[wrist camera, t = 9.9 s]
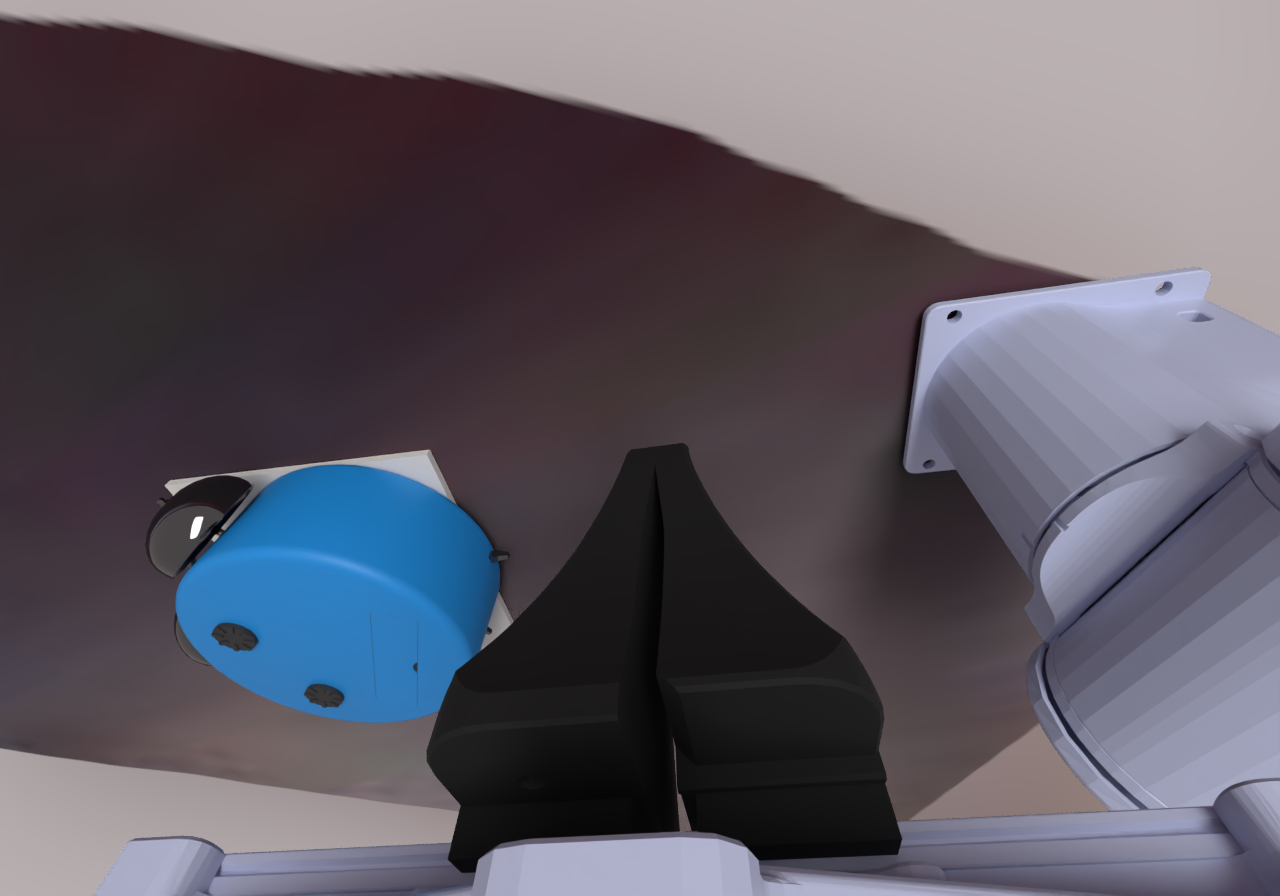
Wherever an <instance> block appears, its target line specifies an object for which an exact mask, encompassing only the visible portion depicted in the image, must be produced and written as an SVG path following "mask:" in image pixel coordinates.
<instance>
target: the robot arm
mask: <svg viewBox="0 0 1280 896" xmlns="http://www.w3.org/2000/svg"><path fill="white" fill-rule="evenodd" d="M1211 277H1212V276H1211V274H1210V272H1208V271H1207V270H1204V269H1202V268H1200V267H1192V268H1184V269H1177V270H1170V271H1163V272H1156V273H1148V274H1142V275H1134V276H1127V277H1119V278H1112V279H1105V280H1097V281H1090V282H1083V283H1076V284H1069V285H1061V286H1054V287H1047V288H1040V289H1032V290H1025V291H1018V292H1011V293H1003V294H996V295H989V296H982V297H975V298H967V299H960V300H953V301H946V302H938V303H935V304H932V305H931V306H929V307H928V308H927V309H926V311H925V312H924V314H923V318H922V325H921V332H920V340H919V347H918V354H917V362H916V369H915V377H914V384H913V391H912V399H911V406H910V413H909V421H908V428H907V436H906V443H905V450H904V458H903V465H904V467H905V469H906V470H907V472H909V473H915V474H916V473H926V472H936V471H946V470H956V471H957V472H958V474H959V475H960V477H961V478H962V480H963V481H964V483H965V484H966V485H967V487H968V488H969V490H970V491H971V493H972V494H973V496H974V497H975V499H976V500H977V502H978V503H979V505H980V506H981V508H982V509H983V511H984V512H985V514H986V515H987V517H988V518H989V520H990V521H991V523H992V524H993V526H994V527H995V529H996V530H997V532H998V533H999V535H1000V536H1001V538H1002V539H1003V541H1004V542H1005V544H1006V545H1007V547H1008V548H1009V550H1010V551H1011V553H1012V554H1013V556H1014V557H1015V559H1016V560H1017V562H1018V563H1019V565H1020V566H1021V568H1022V569H1023V571H1024V572H1025V574H1026V575H1027V577H1028V578H1029V580H1030V581H1031V583H1032V584H1033V586H1034V593H1033V596H1032V598H1031V600H1030V601H1029V602H1028V604H1027V605H1026V606H1025V608H1024V610H1025V612H1026V614H1027V615H1028V617H1029V618H1030V620H1031V622H1032V623H1033V625H1034V626H1035V628H1036V630H1037V631H1038V633H1039V634H1040V636H1041V638H1042V639H1043V641H1044V643H1043V644H1041V645H1040V646H1039V647H1038V648H1037V649H1036V650H1035V651H1034V652H1033V653H1032V655H1031V657H1030V659H1029V662H1028V664H1027V670H1026V684H1027V691H1028V695H1029V698H1030V701H1031V704H1032V707H1033V710H1034V712H1035V714H1036V716H1037V718H1038V721H1039V723H1040V725H1041V727H1042V729H1043V730H1044V732H1045V734H1046V735H1047V737H1048V738H1049V740H1050V742H1051V743H1052V745H1053V747H1054V748H1055V750H1056V751H1057V752H1058V754H1059V755H1060V756H1061V758H1062V759H1063V760H1064V762H1065V763H1066V765H1067V766H1068V767H1069V768H1070V770H1071V771H1072V772H1073V773H1074V774H1075V775H1076V777H1077V778H1078V779H1079V780H1080V781H1081V782H1082V784H1083V785H1084V786H1085V787H1086V788H1087V789H1088V790H1089V791H1090V792H1091V793H1092V794H1093V795H1094V796H1095V797H1096V798H1097V799H1098V800H1099V801H1100V802H1101V803H1102V804H1103V805H1105V806H1106V807H1107V808H1108V809H1109V810H1110V811H1096V812H1075V813H1055V814H1035V815H1013V816H993V817H974V818H973V817H972V818H952V819H931V820H911V821H897V820H896V817H895V814H894V811H893V807H892V804H891V801H890V798H889V795H888V792H887V788H886V785H885V783H886V780H887V777H886V772H885V769H884V766H883V762H882V759H881V756H880V753H879V745H880V739H881V733H882V728H883V722H884V713H883V706H882V703H881V701H880V698H879V695H878V693H877V691H876V689H875V687H874V685H873V683H872V681H871V679H870V677H869V675H868V673H867V671H866V670H865V668H864V666H863V665H862V663H861V661H860V660H859V658H858V656H857V655H856V653H855V652H854V650H853V649H852V647H851V646H850V644H849V643H848V641H847V640H846V638H845V637H843V636H842V635H840V634H839V633H838V632H836V631H835V630H834V629H832V628H831V627H830V626H828V625H827V624H826V623H824V622H823V621H822V620H821V619H819V618H818V617H817V616H816V615H814V614H813V613H812V612H811V611H809V610H808V609H807V608H806V607H805V606H804V605H802V604H801V603H800V602H799V601H798V600H797V599H795V598H794V597H793V596H792V595H791V594H790V593H789V592H788V591H787V590H786V589H785V588H784V587H782V586H781V585H780V584H779V583H778V582H777V581H776V580H775V579H774V578H773V577H772V576H771V575H770V574H769V573H768V572H767V571H766V570H765V569H764V568H763V567H762V566H761V565H760V564H759V563H758V561H757V560H756V559H755V558H754V557H753V556H752V555H751V554H750V553H749V551H748V550H747V549H746V548H745V547H744V545H743V544H742V543H741V542H740V541H739V539H738V538H737V537H736V536H735V534H734V533H733V532H732V530H731V529H730V528H729V526H728V525H727V523H726V522H725V520H724V519H723V518H722V516H721V515H720V513H719V512H718V510H717V509H716V507H715V506H714V504H713V502H712V501H711V499H710V497H709V496H708V494H707V492H706V490H705V489H704V487H703V485H702V483H701V481H700V479H699V477H698V475H697V473H696V471H695V469H694V466H693V464H692V461H691V458H690V454H689V449H688V446H686V445H685V444H683V443H679V444H672V445H664V446H656V447H648V448H640V449H632V450H630V451H629V452H628V454H627V455H626V458H625V461H624V463H623V466H622V468H621V471H620V473H619V475H618V477H617V479H616V482H615V484H614V486H613V488H612V490H611V492H610V494H609V496H608V497H607V499H606V501H605V503H604V505H603V507H602V509H601V511H600V512H599V514H598V516H597V518H596V519H595V521H594V522H593V524H592V526H591V527H590V529H589V531H588V532H587V534H586V535H585V537H584V539H583V540H582V542H581V543H580V545H579V546H578V548H577V549H576V550H575V552H574V553H573V555H572V556H571V557H570V559H569V560H568V561H567V563H566V564H565V565H564V567H563V568H562V569H561V570H560V572H559V573H558V574H557V575H556V577H555V578H554V579H553V580H552V581H551V582H550V584H549V585H548V586H547V587H546V588H545V590H544V591H543V592H542V593H541V594H540V595H539V596H538V597H537V599H536V600H535V601H534V602H533V603H532V604H531V605H530V606H529V607H528V608H527V609H526V610H525V611H524V612H523V613H522V614H521V615H520V616H519V617H518V618H517V619H516V620H515V621H514V622H513V623H512V624H511V625H510V626H509V627H508V628H507V629H506V630H505V631H503V632H502V633H501V634H500V635H499V636H498V637H497V638H496V639H494V640H493V641H492V642H491V643H490V644H488V645H487V646H486V647H485V648H483V649H482V650H481V651H480V652H479V653H477V654H476V655H475V656H474V657H472V658H471V659H470V660H469V661H468V662H466V663H465V664H464V665H463V666H461V667H460V668H459V669H457V670H456V671H455V673H454V676H453V678H452V681H451V683H450V685H449V687H448V689H447V692H446V694H445V696H444V699H443V702H442V704H441V707H440V710H439V713H438V716H437V720H436V723H435V726H434V729H433V732H432V736H431V739H430V742H429V745H428V748H427V762H428V764H429V766H430V768H431V769H432V771H433V773H434V774H435V776H436V777H437V778H438V779H439V781H440V782H441V783H442V784H443V785H444V786H445V787H446V789H447V790H448V791H449V792H450V793H451V794H452V796H453V797H454V798H455V799H456V800H457V801H458V802H459V804H460V805H461V807H460V811H459V815H458V819H457V823H456V827H455V831H454V835H453V839H452V843H438V844H417V845H398V846H376V847H355V848H335V849H314V850H296V851H295V850H293V851H274V852H252V853H232V854H224V852H223V850H222V849H221V848H219V847H218V846H217V845H215V844H213V843H212V842H210V841H207V840H205V839H202V838H198V837H193V836H171V837H152V838H136V839H133V840H131V841H129V842H128V843H127V844H126V846H125V847H124V849H123V850H122V852H121V853H120V855H119V856H118V858H117V860H116V861H115V863H114V864H113V866H112V867H111V869H110V871H109V872H108V873H107V875H106V877H105V878H104V880H103V881H102V883H101V884H100V886H99V887H98V889H97V891H96V892H95V894H94V895H93V896H1280V335H1278V334H1276V333H1274V332H1272V331H1270V330H1268V329H1265V328H1264V327H1261V326H1259V325H1257V324H1255V323H1253V322H1251V321H1249V320H1247V319H1245V318H1243V317H1241V316H1239V315H1236V314H1234V313H1232V312H1230V311H1228V310H1226V309H1224V308H1222V307H1220V306H1218V305H1216V304H1213V303H1212V302H1210V301H1207V300H1205V299H1203V297H1204V295H1205V293H1206V291H1207V289H1208V286H1209V284H1210V281H1211ZM1163 282H1164V285H1163V286H1162V288H1160V289H1159V290H1158V291H1156V288H1157V287H1158V286H1159V285H1160V284H1161V283H1163ZM954 310H957V311H958V312H957V314H956V316H954V317H953V318H951V319H947V316H948V314H949V313H950V312H952V311H954ZM927 460H931V461H930V462H928V463H925V464H924V462H925V461H927ZM673 738H674V742H675V745H676V768H677V788H678V793H679V794H681V796H682V799H683V802H684V806H685V809H686V813H687V816H688V819H689V823H690V826H691V830H692V831H684V832H680V828H679V815H678V802H677V789H676V775H675V760H674V745H673Z"/></svg>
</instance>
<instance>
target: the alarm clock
mask: <svg viewBox="0 0 1280 896" xmlns="http://www.w3.org/2000/svg"><path fill="white" fill-rule="evenodd" d="M254 486H255V484H253V483H251V482H250V481H248V480H245V479H243V478H240V477H236V476H230V475H218V476H212V477H207V478H204V479H201V480H198V481H195V482H193V483H191V484H189V485H187V486H185V487H184V488H182V489H180V490H179V491H178V492H177V493H176V494H175V495H174V496H173V497H171V498H170V499H169V500H168V499H167V500H166V499H164V498H160V499H159V500H158V501H157V502H156V504H158V505H160V506H161V507H162V508H161V509H160V510H159V512H158V513H157V514H156V515H155V517H154V518H153V519H152V521H151V523H150V526H149V529H148V531H147V535H146V543H145V546H146V554H147V556H148V559H149V561H150V563H151V564H152V565H153V567H154V568H155V569H156V570H157V571H159V572H160V573H162V574H164V575H165V576H167V577H169V578H172V579H174V578H175V577H176V576H177V575H179V574H180V573H181V572H182V571H183V570H184V569H185V568H186V567H187V565H188V569H189V570H188V572H187V573H186V574H185V576H184V577H183V579H182V581H181V582H180V584H179V587H178V590H177V594H176V613H175V618H174V633H175V637H176V640H177V642H178V644H179V646H180V648H181V649H182V651H183V652H184V653H185V654H186V655H187V656H188V657H189V658H191V659H192V660H194V661H196V662H198V663H200V664H203V665H206V666H214V667H215V668H216V669H217V670H219V671H220V672H221V673H223V674H224V675H225V676H227V677H228V678H230V679H231V680H233V681H235V682H236V683H238V684H239V685H241V686H243V687H245V688H247V689H248V690H250V691H252V692H254V693H256V694H258V695H260V696H262V697H265V698H267V699H269V700H271V701H274V702H277V703H279V704H282V705H284V706H287V707H290V708H293V709H296V710H299V711H303V712H306V713H310V714H314V715H318V716H322V717H327V718H332V719H339V720H345V721H354V722H368V723H384V722H398V721H405V720H411V719H416V718H420V717H424V716H427V715H430V714H433V713H435V712H438V711H439V710H440V707H441V704H442V702H443V699H444V696H445V694H446V692H447V689H448V687H449V685H450V683H451V681H452V678H453V676H454V673H455V671H456V670H457V669H459V668H460V667H461V666H463V665H464V664H465V663H466V662H468V661H469V660H470V659H471V658H472V657H474V656H475V655H476V654H477V653H479V652H480V650H481V647H482V644H483V640H484V637H485V634H488V635H490V634H491V633H492V629H491V628H489V627H488V624H489V621H490V618H491V615H492V611H493V608H494V605H495V602H496V598H497V595H498V592H499V587H500V568H499V563H498V561H501V560H504V559H508V558H509V556H510V554H509V552H503V551H494V549H493V547H492V545H491V543H490V542H489V540H488V538H487V536H486V535H485V534H484V532H483V531H482V529H481V528H480V527H479V526H478V525H477V523H476V522H475V521H474V520H473V519H472V518H471V517H470V516H469V515H468V514H467V513H466V512H465V511H463V510H462V509H461V508H460V507H459V506H457V505H456V504H455V503H453V502H452V501H451V500H449V499H448V498H446V497H445V496H443V495H441V494H440V493H438V492H436V491H435V490H433V489H431V488H429V487H427V486H425V485H423V484H421V483H419V482H417V481H414V480H412V479H410V478H407V477H404V476H401V475H398V474H395V473H392V472H388V471H385V470H381V469H376V468H371V467H365V466H358V465H344V464H334V465H320V466H312V467H307V468H302V469H299V470H295V471H292V472H290V473H287V474H285V475H283V476H281V477H279V478H277V479H276V480H274V481H272V482H271V483H269V484H268V485H267V486H266V487H264V488H263V489H262V490H261V491H260V492H259V493H258V494H257V496H256V497H255V498H254V499H253V500H252V501H251V502H250V503H249V504H248V505H247V507H246V508H245V509H244V510H243V511H242V512H241V513H240V514H239V515H238V517H237V518H236V519H235V520H234V521H233V522H232V523H231V524H230V525H229V526H228V528H227V529H226V530H223V529H221V528H222V527H223V525H224V524H225V523H226V522H227V521H228V519H229V518H230V517H231V516H232V515H233V513H234V512H235V511H236V510H237V509H238V507H239V506H240V505H241V504H242V502H243V501H244V500H245V499H246V497H247V496H248V495H249V493H250V492H251V491H252V489H253V488H254ZM215 535H218V536H219V537H218V539H217V540H216V541H215V542H214V543H213V544H212V545H211V546H210V547H209V548H208V550H207V551H206V552H205V553H204V554H203V555H202V556H201V557H200V558H199V559H198V561H196V558H195V557H196V556H197V555H198V554H199V553H200V551H201V550H202V549H203V548H204V547H205V546H206V545H207V544H208V543H209V541H210V540H211V539H212V538H213V537H214V536H215Z"/></svg>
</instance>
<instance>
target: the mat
mask: <svg viewBox="0 0 1280 896" xmlns="http://www.w3.org/2000/svg"><path fill="white" fill-rule="evenodd" d="M334 464H344V465H358V466H365V467H371V468H376V469H381V470H385V471H388V472H392V473H395V474H398V475H401V476H404V477H407V478H410V479H412V480H414V481H417V482H419V483H421V484H423V485H425V486H427V487H429V488H431V489H433V490H435V491H436V492H438V493H440V494H441V495H443V496H445V497H446V498H448V499H449V500H451V501H452V502H453V503H455V504H456V502H455V500H454V498H453V496H452V494H451V492H450V490H449V488H448V486H447V484H446V482H445V480H444V478H443V475H442V473H441V471H440V469H439V467H438V465H437V463H436V461H435V459H434V457H433V455H432V453H431V451H430V450H423V451H414V452H406V453H397V454H389V455H380V456H372V457H363V458H355V459H347V460H338V461H330V462H321V463H313V464H304V465H296V466H288V467H279V468H271V469H262V470H254V471H245V472H237V473H228V474H220V475H230V476H236V477H240V478H243V479H245V480H248V481H250V482H251V483H253V484H255V486H254V488H253V489H252V491H251V492H250V493H249V495H248V496H247V497H246V499H245V500H244V501H243V502H242V504H241V505H240V506H239V507H238V509H237V510H236V511H235V512H234V513H233V515H232V516H231V517H230V518H229V519H228V521H227V522H226V523H225V524H224V525H223V527H222V528H221V529H223V530H226V529H227V528H228V526H229V525H230V524H231V523H232V522H233V521H234V520H235V519H236V518H237V517H238V515H239V514H240V513H241V512H242V511H243V510H244V509H245V508H246V507H247V505H248V504H249V503H250V502H251V501H252V500H253V499H254V498H255V497H256V496H257V494H258V493H259V492H260V491H261V490H262V489H263V488H264V487H266V486H267V485H268V484H269V483H271V482H272V481H274V480H276V479H277V478H279V477H281V476H283V475H285V474H287V473H290V472H292V471H295V470H299V469H302V468H307V467H312V466H320V465H334ZM212 476H218V475H212ZM212 476H203V477H195V478H186V479H178V480H170V481H169V482H168V483H167V484H166V485H165V487H166V488H167V489H168V490H169V491H170V492H171V493H172V495H173V496H174V495H175V494H176V493H177V492H178V491H179V490H180V489H182V488H184V487H185V486H187V485H189V484H191V483H193V482H195V481H198V480H201V479H204V478H207V477H212ZM456 505H457V504H456ZM218 537H219V536H218V535H215V536H214V537H213V538H212V540H213V541H214V542H215V541H216V540H217V539H218ZM513 622H514V621H513V619H512V617H511V615H510V613H509V611H508V609H507V607H506V605H505V603H504V601H503V599H502V597H501V595H500V593H499V592H498V595H497V598H496V602H495V605H494V608H493V611H492V615H491V618H490V621H489V624H488V627H489V628H491V629H492V633H491V634H490V635H488V634H485V637H484V640H483V644H482V647H481V650H482V649H483V648H485V647H486V646H487V645H488V644H490V643H491V642H492V641H493V640H494V639H496V638H497V637H498V636H499V635H500V634H501V633H502V632H503V631H505V630H506V629H507V628H508V627H509V626H510V625H511V624H512V623H513ZM481 650H480V651H481Z"/></svg>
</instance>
